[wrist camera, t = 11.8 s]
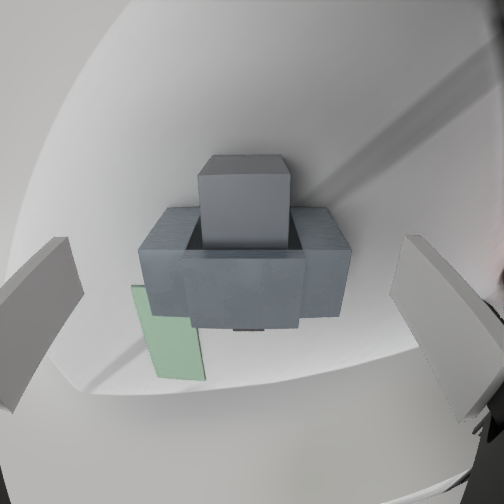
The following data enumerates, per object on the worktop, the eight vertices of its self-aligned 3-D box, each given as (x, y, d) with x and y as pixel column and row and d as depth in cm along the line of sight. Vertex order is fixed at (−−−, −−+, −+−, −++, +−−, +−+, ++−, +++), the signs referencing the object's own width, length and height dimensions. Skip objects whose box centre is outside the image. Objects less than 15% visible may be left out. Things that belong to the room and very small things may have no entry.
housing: (167, 207, 28) (132, 258, 19) (325, 207, 28) (357, 258, 19) (174, 262, 31) (148, 325, 22) (319, 262, 31) (342, 326, 22)
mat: (131, 285, 32) (130, 287, 32) (191, 286, 32) (190, 288, 32) (158, 375, 40) (157, 377, 39) (205, 378, 40) (205, 380, 39)
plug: (212, 155, 26) (197, 175, 19) (280, 154, 26) (290, 174, 19) (222, 309, 34) (216, 359, 27) (275, 309, 34) (280, 359, 27)
